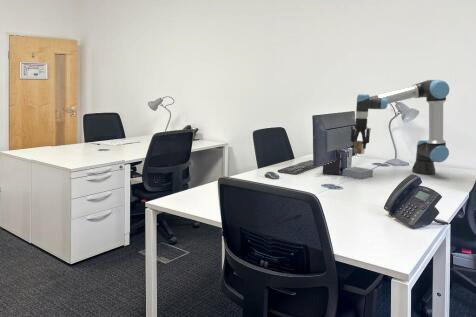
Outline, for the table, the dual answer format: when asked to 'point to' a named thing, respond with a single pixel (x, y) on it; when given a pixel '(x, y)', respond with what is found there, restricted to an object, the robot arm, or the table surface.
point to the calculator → (333, 166)
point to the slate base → (357, 172)
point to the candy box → (349, 157)
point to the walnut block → (357, 147)
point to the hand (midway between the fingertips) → (358, 152)
